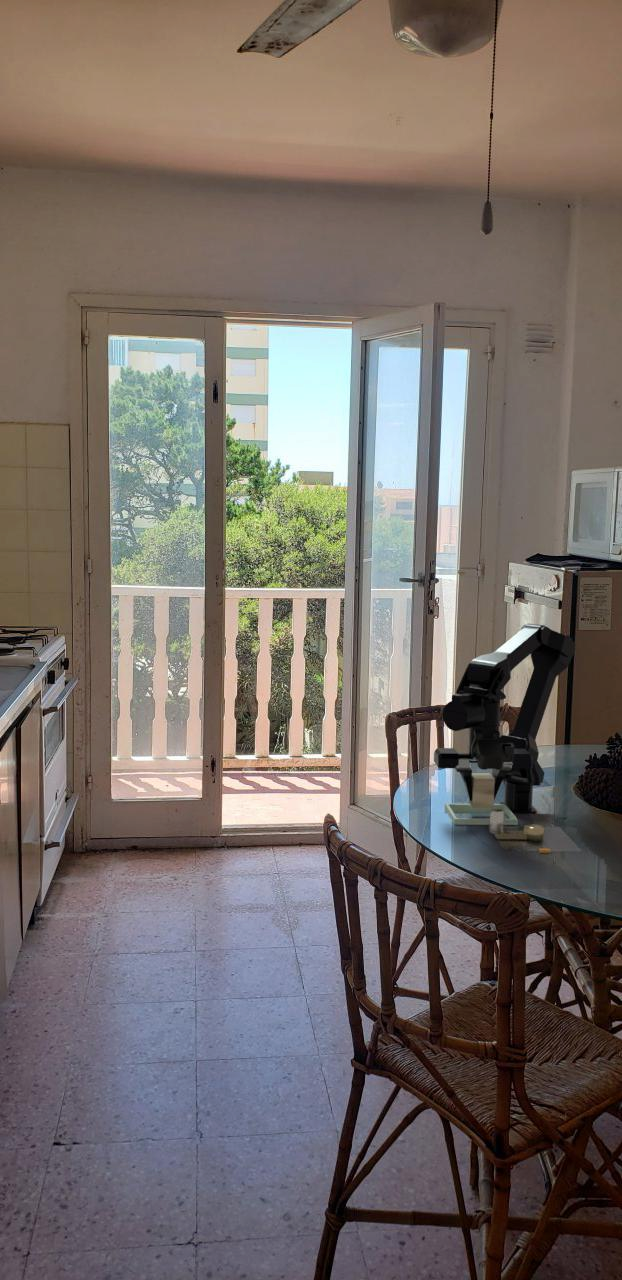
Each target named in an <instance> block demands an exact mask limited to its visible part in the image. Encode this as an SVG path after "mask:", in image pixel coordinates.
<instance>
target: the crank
mask: <svg viewBox="0 0 622 1280" xmlns="http://www.w3.org/2000/svg"><path fill="white" fill-rule="evenodd" d="M504 815H505V814H504V811H503V810H499V809H492V810H491V813H490V817H489V818H490V825H489V827H490V829H489V832H490V833H491V834H492V833H493V834H495V837H496V838H497V839H528V840H533V841H539V840H543V835H544V827H545V826H542V825H540V824H535V823H529V824H528V823H527V824H524V825H523V827H524V831H517V830H503V827H504V825H503V819H505V818H504ZM493 834H492V835H493ZM495 837H494V838H495ZM496 838H495V839H496ZM497 839H496V840H497Z"/></svg>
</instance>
